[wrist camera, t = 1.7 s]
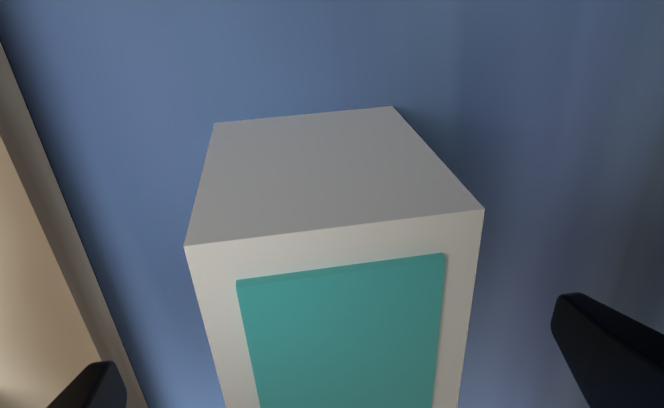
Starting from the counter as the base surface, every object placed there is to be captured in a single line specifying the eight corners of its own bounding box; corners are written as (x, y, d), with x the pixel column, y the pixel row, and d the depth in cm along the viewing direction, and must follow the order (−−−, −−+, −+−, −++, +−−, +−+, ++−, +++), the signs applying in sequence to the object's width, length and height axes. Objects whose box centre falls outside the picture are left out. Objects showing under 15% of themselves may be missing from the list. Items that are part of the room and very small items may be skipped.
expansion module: (391, 105, 13) (490, 214, 7) (389, 270, 16) (457, 434, 10) (214, 122, 12) (181, 253, 7) (246, 290, 15) (241, 473, 10)
